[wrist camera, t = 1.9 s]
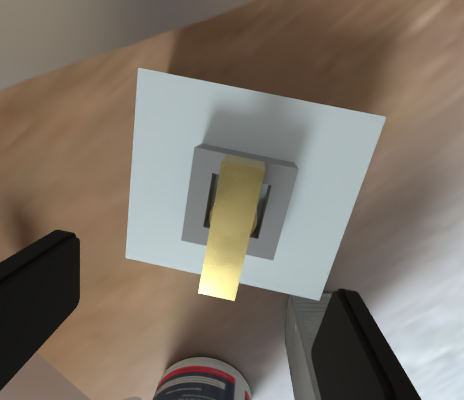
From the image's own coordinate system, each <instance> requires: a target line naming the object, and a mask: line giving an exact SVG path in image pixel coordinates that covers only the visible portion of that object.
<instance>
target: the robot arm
mask: <svg viewBox="0 0 464 400" xmlns="http://www.w3.org/2000/svg"><path fill="white" fill-rule="evenodd" d="M79 299H80V240H79V239H78V238H76V235H75V234H74V233H72V232H67V231H62V230H55V231H53V232H51V233H50V234H48V235H46V236H45V237H43V238H41V239H39V240H38V241H36V242H34V243H33V244H31V245H29V246H28V247H26V248H24V249H22V250H21V251H19V252H17V253H16V254H14V255H12V256H11V257H9V258H7V259H6V260H4V261H2V262H0V391H1V390H2V389H3V387H4V386H5V385H6V384H7V383H8V382H9V381H10V380H11V378H13V376H14V375H15V374H16V373H17V372H18V371H19V370H20V369H21V368H22V366H23V365H24V364H25V363H26V362H27V361H28V360H29V359H30V358H31V357H32V356H33V354H34V353H35V352H36V351H37V350H38V349H39V348H40V347H41V346H42V345H43V343H44V342H45V341H46V340H47V339H48V338H49V337H50V336H51V335H52V334H53V332H54V331H55V330H56V329H57V328H58V327H59V326H60V325H61V324H62V323H63V322H64V320H65V319H66V318H67V317H68V316H69V315H70V314H71V313H72V312H73V311H74V309H75V308H76V307H77V305H78V303H79ZM311 358H312V363H313V367H314V371H315V375H316V379H317V384H318V388H319V392H320V396H321V400H421V398H420V396H419V395H418V393H417V391H416V390H415V388H414V386H413V385H412V383H411V381H410V379H409V378H408V376H407V374H406V373H405V371H404V369H403V368H402V366H401V364H400V363H399V361H398V359H397V357H396V356H395V354H394V352H393V351H392V349H391V347H390V346H389V344H388V342H387V341H386V339H385V337H384V336H383V334H382V332H381V330H380V329H379V327H378V325H377V324H376V322H375V320H374V319H373V317H372V315H371V314H370V312H369V310H368V308H367V307H366V305H365V303H364V302H363V300H362V298H361V297H360V295H359V294H358V292H356V291H351V290H346V289H339V290H338V291H337V292H336V291H334V292H333V293H332V295H331V298H330V300H329V303H328V306H327V308H326V311H325V314H324V316H323V319H322V322H321V324H320V327H319V329H318V332H317V335H316V337H315V340H314V343H313V345H312V349H311Z"/></svg>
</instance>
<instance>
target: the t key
mask: <svg viewBox="0 0 464 400" xmlns="http://www.w3.org/2000/svg"><path fill="white" fill-rule="evenodd" d="M264 174H265V163H264V162H263V161H258V160H253V159H248V158H244V157H239V156H234V155H229V154H227V155H226V156H225V158H224V159H223V160H222V163H221V168H220V174H219V179H218V185H217V191H216V196H215V202H214V205H213V207H212V209H211V212H210V216H209V222H210V230H209V235H208V241H207V247H206V252H205V258H204V263H203V269H202V274H201V280H200V286H199V291H198V293H201V294H205V295H210V296H214V297H219V298H223V299H228V300H232V301H235V297H236V293H237V289H238V284H239V280H240V276H241V272H242V267H243V263H244V259H245V255H246V250H247V246H248V242H249V238H250V235H251V234H252V233H253V232H254V230H255V228H256V224H257V204H258V200H259V195H260V191H261V187H262V183H263V178H264Z"/></svg>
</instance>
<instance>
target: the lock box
mask: <svg viewBox="0 0 464 400" xmlns="http://www.w3.org/2000/svg"><path fill="white" fill-rule="evenodd" d="M385 119H386V117H384V116H379V115H374V114H369V113H364V112H359V111H354V110H349V109H344V108H339V107H333V106H328V105H323V104H318V103H313V102H308V101H303V100H298V99H293V98H288V97H283V96H278V95H273V94H268V93H263V92H258V91H253V90H248V89H243V88H238V87H233V86H228V85H223V84H218V83H213V82H208V81H202V80H197V79H192V78H187V77H182V76H177V75H172V74H167V73H162V72H157V71H152V70H147V69H142V68H138V78H137V93H136V108H135V123H134V138H133V153H132V168H131V183H130V198H129V213H128V228H127V243H126V258H129V259H133V260H138V261H142V262H147V263H151V264H156V265H160V266H165V267H169V268H174V269H178V270H183V271H187V272H192V273H196V274H202V269H203V263H204V258H205V252H206V247H207V241H208V235H209V230H210V222H209V216H210V212H211V209H212V207H213V205H214V202H215V196H216V191H217V185H218V179H219V174H220V168H221V163H222V160H223V159H224V158H225V156H226V155H227V154H229V155H234V156H239V157H244V158H248V159H253V160H258V161H263V162H264V163H265V174H264V178H263V183H262V187H261V191H260V195H259V200H258V204H257V224H256V228H255V230H254V232H253V233H252V234H251V235H250V238H249V242H248V246H247V250H246V255H245V259H244V263H243V267H242V272H241V276H240V280H239V283H241V284H246V285H250V286H255V287H259V288H264V289H268V290H273V291H277V292H282V293H286V294H291V295H295V296H300V297H304V298H309V299H313V300H318V301H319V300H320V298H321V295H322V292H323V289H324V287H325V284H326V281H327V278H328V276H329V273H330V270H331V267H332V265H333V262H334V259H335V256H336V254H337V251H338V248H339V245H340V243H341V240H342V237H343V234H344V232H345V229H346V226H347V224H348V221H349V218H350V215H351V213H352V210H353V207H354V204H355V202H356V199H357V196H358V193H359V191H360V188H361V185H362V182H363V180H364V177H365V174H366V171H367V169H368V166H369V163H370V160H371V158H372V155H373V152H374V149H375V147H376V144H377V141H378V138H379V136H380V133H381V130H382V127H383V125H384V122H385Z"/></svg>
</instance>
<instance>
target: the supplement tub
mask: <svg viewBox="0 0 464 400" xmlns="http://www.w3.org/2000/svg"><path fill="white" fill-rule="evenodd" d="M153 400H252V396H251V391H250V388H249V386H248V384H247V382H246V380H245V379H244V378H243V376H242V375H241V374H240V373H239V372H238V371H237V370H236V369H234V368H233V367H232V366H230V365H228V364H226V363H224V362H222V361H220V360H216V359H213V358H207V357H194V358H188V359H185V360H182V361H179V362H177V363H175V364H174V365H172V366H171V367H170V368H169V369H168V370H167V371H166V372H165V373H164V374H163V376H162V377H161V379H160V381H159V383H158V387H157V390H156V392H155V395H154V397H153Z"/></svg>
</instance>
